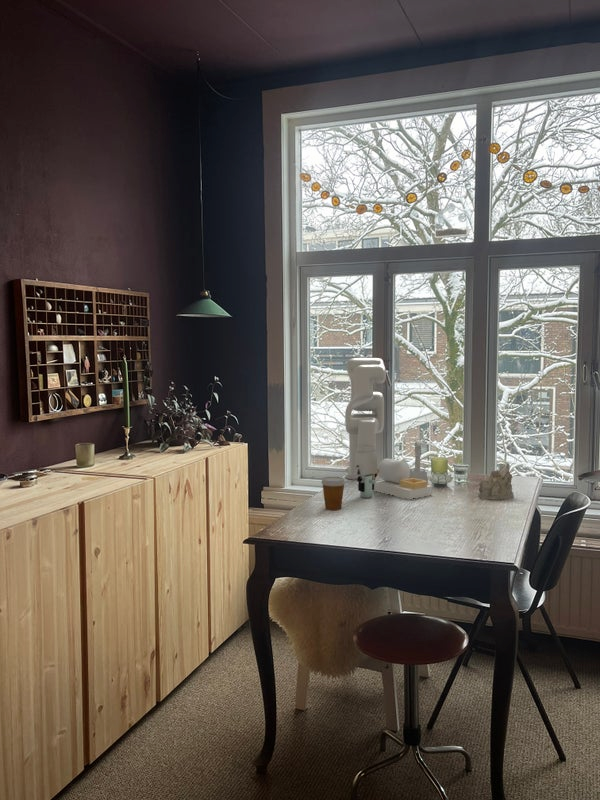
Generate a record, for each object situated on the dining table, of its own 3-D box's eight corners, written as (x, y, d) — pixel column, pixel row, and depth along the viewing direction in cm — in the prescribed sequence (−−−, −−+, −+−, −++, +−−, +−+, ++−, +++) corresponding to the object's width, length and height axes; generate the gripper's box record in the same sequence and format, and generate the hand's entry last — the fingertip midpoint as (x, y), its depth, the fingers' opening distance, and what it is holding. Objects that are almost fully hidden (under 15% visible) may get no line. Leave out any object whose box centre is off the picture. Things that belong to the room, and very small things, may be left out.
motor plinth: (373, 490, 297) (373, 459, 296) (394, 486, 306) (395, 456, 304) (410, 499, 280) (410, 466, 279) (432, 495, 288) (432, 463, 287)
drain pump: (357, 495, 285) (358, 475, 285) (366, 494, 288) (366, 473, 288) (370, 499, 280) (370, 478, 279) (378, 497, 283) (378, 476, 282)
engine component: (426, 481, 317) (405, 481, 318) (427, 439, 316) (405, 438, 316) (429, 486, 306) (407, 486, 307) (430, 442, 305) (408, 442, 305)
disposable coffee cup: (340, 512, 259) (340, 482, 258) (317, 509, 263) (317, 479, 262) (348, 507, 267) (348, 477, 266) (326, 504, 271) (326, 475, 270)
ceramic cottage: (506, 490, 297) (505, 457, 295) (518, 500, 280) (517, 465, 278) (471, 493, 296) (470, 460, 295) (481, 503, 280) (480, 468, 278)
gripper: (374, 445, 291) (374, 486, 293) (345, 449, 281) (345, 491, 282) (387, 447, 285) (386, 489, 287) (358, 451, 275) (357, 495, 277)
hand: (366, 490), depth 285 cm, fingers closed on drain pump, 5 cm apart
